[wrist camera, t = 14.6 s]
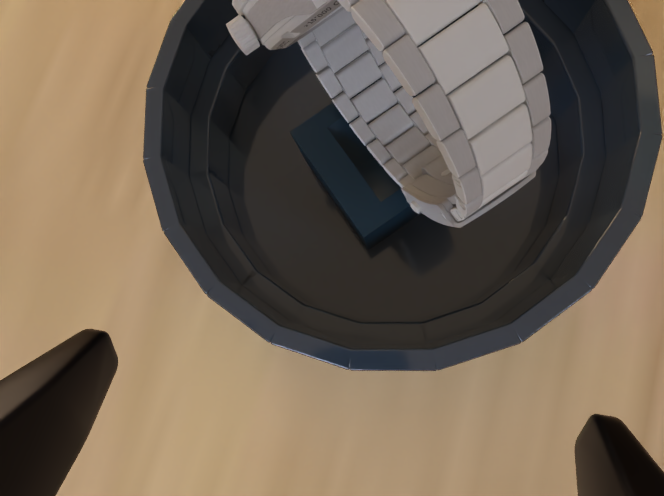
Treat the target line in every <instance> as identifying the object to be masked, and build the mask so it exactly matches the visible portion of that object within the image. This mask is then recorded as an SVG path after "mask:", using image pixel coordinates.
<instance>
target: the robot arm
mask: <svg viewBox="0 0 664 496" xmlns="http://www.w3.org/2000/svg"><path fill="white" fill-rule="evenodd" d="M117 366H118V357H117V354H116V352H115V349H114V346H113V344H112V341H111V338H110V336H109V334H108V333H107V332H105V331H100V330H94V329H85V330H83V331H81V332H79V333H77V334H76V335H74V336H72V337H71V338H69V339H67V340H66V341H64V342H63V343H61V344H59V345H58V346H56V347H54V348H53V349H51V350H49V351H48V352H46V353H45V354H43V355H41V356H40V357H38V358H36V359H35V360H33V361H31V362H30V363H28V364H27V365H25V366H23V367H22V368H20V369H18V370H17V371H15V372H13V373H12V374H10V375H9V376H7V377H5V378H4V379H2V380H0V496H56V494H57V492H58V490H59V488H60V487H61V485H62V483H63V481H64V479H65V478H66V476H67V474H68V472H69V470H70V469H71V467H72V465H73V463H74V462H75V460H76V458H77V456H78V454H79V453H80V451H81V449H82V447H83V445H84V443H85V441H86V439H87V437H88V435H89V433H90V430H91V428H92V426H93V424H94V421H95V419H96V417H97V414H98V412H99V410H100V407H101V405H102V403H103V400H104V398H105V396H106V393H107V391H108V389H109V386H110V384H111V382H112V380H113V377H114V375H115V373H116V370H117ZM575 463H576V476H577V489H578V496H664V472H663V471H662V470H661V468H660V467H659V466H658V465H657V463H656V462H655V461H654V460H653V458H652V457H651V456H650V455H649V454H648V452H647V451H646V450H645V449H644V447H643V446H642V445H641V444H640V442H639V441H638V440H637V439H636V437H635V436H634V435H633V434H632V433H631V431H630V430H629V429H628V428H627V426H626V425H625V424H624V423H623V422H622V421H621V420H620V419H618V418H616V417H612V416H606V415H600V414H594V415H592V416H590V418H589V419H588V421H587V422H586V424H585V426H584V427H583V429H582V431H581V432H580V434H579V436H578V437H577V440H576V443H575Z"/></svg>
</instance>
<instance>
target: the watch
mask: <svg viewBox="0 0 664 496" xmlns="http://www.w3.org/2000/svg"><path fill="white" fill-rule="evenodd" d="M232 5H233V7H234V8H235V10H236V11H237V13H238V14H239V15H238V16H237V17H235V18H234V19H232V20H231V21H230V22H228V23H227V24H226V26H227V28H228V31H229V33H230V34H231V36H232V38H233V40H234V41H235V43H236V44H237V45H238V47H239V48H240V49H241V50H242V52H243V53H244V54H245V55H248V54H250V53H251V52H252V51H254V50H255V49H257V48H258V47H260V44H259V42H258V40H259V41H260V42H261V44H262V45H265V47H266V48H268V49H269V50H276V49H283V48H287V47H289V46H290V45H292V44H294V43H295V42H298V43H299V45H300V47H301V50H302V52H303V53H304V55H305V57H306V59H307V60H308V62H309V64H310V65H311V67H312V68H313V70H314V72H315V73H317V74H316V76H317V78H318V79H319V81H320V82H321V84H322V86H323V87H324V89H325V90H326V92H327V93H328V95H329V96H330V98H334V97H335V96H336V95H338V94H339V93H341V92H342V91H343V92H342V93H341V94H339V95H338V96H336V97H335V98H334V99H332V103H331V104H329V105H328V106H326V107H325V108H323V109H322V110H320V111H319V112H318V113H316V114H315V115H313V116H312V117H310V118H309V119H308V120H306V121H305V122H303V123H302V124H300V125H299V126H298V127H296V128H295V129H293V130H292V131H290V133H291V135H292V137H293V139H294V140H295V142H296V144H297V146H298V148H299V150H300V151H301V153H302V155H303V157H304V159H305V160H306V162H307V163H308V165H309V166H310V168H311V169H312V171H313V172H314V173H315V175H316V176H317V178H318V179H319V181H320V182H321V183H322V185H323V186H324V188H325V189H326V191H327V192H328V193H329V195H330V196H331V198H332V199H333V201H334V202H335V203H336V205H337V206H338V208H339V209H340V211H341V212H342V213H343V215H344V216H345V218H346V219H347V221H348V222H349V223H350V225H351V226H352V228H353V229H354V231H355V232H356V233H357V235H358V236H359V238H360V239H361V241H362V242H363V243H364V245H365V246H366V248H367V249H368V250H369V249H370V248H372V247H373V246H375V245H376V244H378V243H379V242H381V241H382V240H384V239H385V238H386V237H388V236H389V235H391V234H392V233H394V232H395V231H397V230H398V229H399V228H401V227H402V226H404V225H405V224H407V223H408V222H410V221H411V220H413V219H414V218H415V217H417V216H418V215H420V214H421V213H422V214H424V215H425V216H427V217H429V218H430V219H432V220H434V221H436V222H438V223H441V224H443V225H447V226H451V227H457V228H461V227H463V226H464V225H466V224H468V223H469V222H471V221H473V220H474V219H476V218H478V217H479V216H481V215H482V214H484V213H485V212H487V211H488V210H490V209H491V208H493V207H494V206H496V205H497V204H499V203H500V202H502V201H503V200H505V199H506V198H508V197H509V196H510V195H512V194H513V193H515V192H516V191H517V190H519V189H520V188H521V187H523V186H524V185H525V184H527V183H528V182H529V181H530V180H532V179H533V178H534V177H535V176H536V170H537V169H538V168H539V166H540V165H541V164H542V163H543V162H544V160H545V158H546V156H547V154H548V148H549V145H550V139H551V119H550V118H549V117H548V116H550V102H549V95H548V89H547V84H546V80H545V76H544V74H542V73H540V72H541V71H542V70H543V65H542V61H541V57H540V54H539V50H538V47H537V44H536V41H535V38H534V36H533V33H532V30H531V28H530V25H529V24H528V23H527V22H523V23H521V22H522V21H523V20H524V14H523V11H522V9H521V7H520V4H519V2H518V0H232ZM476 5H478V6H477V7H476V8H475V9H473V10H472V11H470V12H469V13H467V14H466V15H465V16H463V17H462V18H460V19H459V20H457V21H456V22H454V23H453V24H452V25H450V26H449V27H447V28H446V29H444V30H443V31H442V32H440V33H439V34H437V35H436V36H434V37H433V38H432V39H430V37H432V36H433V35H435V34H436V33H437V32H439V31H440V30H442V29H443V28H445V27H446V26H447V25H449V24H450V23H452V22H453V21H455V20H456V19H458V18H459V17H460V16H462V15H463V14H465V13H466V12H468V11H469V10H470V9H472V8H473V7H475V6H476ZM241 15H244V16H245V19H244V18H243V17H242V16H241ZM519 23H521V24H519ZM518 24H519V25H518ZM516 25H518V26H517V27H515V26H516ZM513 27H515V28H514V29H512V28H513ZM511 29H512V30H511ZM509 30H511V31H509ZM508 31H509V32H508ZM506 32H508V33H506ZM505 33H506V34H505ZM503 34H505V35H504V36H503ZM367 50H368V51H367ZM366 51H367V52H366ZM364 52H365V53H364ZM363 53H364V54H363ZM361 54H362V55H361ZM360 55H361V56H360ZM359 56H360V57H359ZM502 56H503V57H502ZM357 57H358V58H357ZM500 57H501V58H500ZM356 58H357V59H356ZM499 58H500V59H499ZM354 59H355V60H354ZM497 59H498V60H497ZM353 60H354V61H353ZM496 60H497V61H496ZM351 61H352V62H351ZM494 61H495V62H494ZM350 62H351V63H350ZM384 62H385V63H384ZM493 62H494V63H493ZM382 63H384V64H382ZM347 64H348V65H347ZM381 64H382V65H381ZM490 64H491V65H490ZM346 65H347V66H346ZM379 65H381V66H379ZM489 65H490V66H489ZM344 66H345V67H344ZM378 66H379V67H378ZM487 66H488V67H487ZM343 67H344V68H343ZM486 67H487V68H486ZM341 68H342V69H341ZM484 68H485V69H484ZM340 69H341V70H340ZM483 69H484V70H483ZM481 70H482V71H481ZM319 71H320V72H319ZM337 71H338V72H337ZM480 71H481V72H480ZM336 72H337V73H336ZM479 72H480V73H479ZM334 73H335V74H334ZM477 73H478V74H477ZM476 74H477V75H476ZM474 75H475V76H474ZM473 76H474V77H473ZM471 77H472V78H471ZM470 78H471V79H470ZM468 79H469V80H468ZM467 80H468V81H467ZM466 81H467V82H466Z"/></svg>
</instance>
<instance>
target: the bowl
mask: <svg viewBox="0 0 664 496" xmlns="http://www.w3.org/2000/svg"><path fill="white" fill-rule="evenodd" d="M518 2H519V4H520V7H521V9H522V11H523V14H524V20H523V21H522V22H521V23H523V22H527V23H528V24H529V25H530V28H531V30H532V33H533V36H534V38H535V41H536V44H537V47H538V50H539V54H540V57H541V61H542V65H543V70H542V71H541V72H540V73H542V74H544V76H545V80H546V84H547V89H548V95H549V102H550V116H548V117H549V118H550V119H551V139H550V145H549V148H548V154H547V156H546V158H545V160H544V162H543V163H542V164H541V165H540V166H539V168H538V169H537V170H536V176H535V177H534V178H533V179H532V180H530V181H529V182H528V183H527V184H525V185H524V186H523V187H521V188H520V189H519V190H517V191H516V192H515V193H513V194H512V195H510V196H509V197H508V198H506V199H505V200H503V201H502V202H500V203H499V204H497V205H496V206H494V207H493V208H491V209H490V210H488V211H487V212H485V213H484V214H482V215H481V216H479V217H478V218H476V219H474V220H473V221H471V222H469V223H468V224H466V225H464V226H463V227H461V228H457V227H451V226H447V225H443V224H441V223H438V222H436V221H434V220H432V219H430V218H429V217H427V216H425V215H424V214H422V213H421V214H420V215H418V216H417V217H415V218H414V219H413V220H411V221H410V222H408V223H407V224H405V225H404V226H402V227H401V228H399V229H398V230H397V231H395V232H394V233H392V234H391V235H389V236H388V237H386V238H385V239H384V240H382V241H381V242H379V243H378V244H376V245H375V246H373V247H372V248H370V249H369V250H368V249H367V248H366V246H365V245H364V243H363V242H362V241H361V239H360V238H359V236H358V235H357V233H356V232H355V231H354V229H353V228H352V226H351V225H350V223H349V222H348V221H347V219H346V218H345V216H344V215H343V213H342V212H341V211H340V209H339V208H338V206H337V205H336V203H335V202H334V201H333V199H332V198H331V196H330V195H329V193H328V192H327V191H326V189H325V188H324V186H323V185H322V183H321V182H320V181H319V179H318V178H317V176H316V175H315V173H314V172H313V171H312V169H311V168H310V166H309V165H308V163H307V162H306V160H305V159H304V157H303V155H302V153H301V151H300V150H299V148H298V146H297V144H296V142H295V140H294V139H293V137H292V135H291V133H290V131H292V130H293V129H295V128H296V127H298V126H299V125H300V124H302V123H303V122H305V121H306V120H308V119H309V118H310V117H312V116H313V115H315V114H316V113H318V112H319V111H320V110H322V109H323V108H325V107H326V106H328V105H329V104H331V103H332V99H334V98H335V97H336V96H338V95H339V94H341V93H342V92H343V91H342V92H341V93H339V94H338V95H336V96H335V97H334V98H330V96H329V95H328V93H327V92H326V90H325V89H324V87H323V86H322V84H321V82H320V81H319V79H318V78H317V76H316V74H317V73H315V72H314V70H313V68H312V67H311V65H310V64H309V62H308V60H307V59H306V57H305V55H304V53H303V52H302V50H301V47H300V45H299V43H298V42H295V43H294V44H292V45H290V46H289V47H287V48H283V49H276V50H269V49H268V48H266V47H265V45H262V44H261V42H260V41H259V40H258V42H259V44H260V47H258V48H257V49H255V50H254V51H252V52H251V53H250V54H248V55H245V54H244V53H243V52H242V50H241V49H240V48H239V47H238V45H237V44H236V43H235V41H234V40H233V38H232V36H231V34H230V33H229V31H228V28H227V26H226V24H227V23H228V22H230V21H231V20H232V19H234V18H235V17H237V16H238V15H239V14H238V13H237V11H236V10H235V8H234V7H233V5H232V0H185V1H184V2H183V3H182V5H181V6H180V7H179V9H178V10H177V11H176V13H175V14H174V16H173V17H172V20H171V21H170V23H169V26H168V29H167V31H166V34H165V37H164V40H163V42H162V45H161V48H160V51H159V53H158V56H157V59H156V62H155V64H154V67H153V70H152V73H151V75H150V78H149V81H148V84H147V89H146V108H145V130H144V152H143V159H144V160H143V162H144V166H145V170H146V173H147V177H148V180H149V184H150V188H151V191H152V195H153V198H154V202H155V205H156V209H157V213H158V216H159V220H160V223H161V227H162V230H163V231H164V234H165V235H166V237H167V238H168V240H169V241H170V243H171V244H172V246H173V247H174V249H175V250H176V252H177V253H178V254H179V256H180V257H181V259H182V260H183V262H184V263H185V265H186V266H187V268H188V269H189V271H190V272H191V274H192V275H193V277H194V278H195V280H196V281H197V282H198V284H199V285H200V287H201V288H202V290H203V291H204V293H205V294H207V296H208V297H209V298H210V299H212V300H213V301H214V302H216V303H217V304H218V305H220V306H221V307H222V308H224V309H225V310H226V311H228V312H229V313H230V314H232V315H233V316H234V317H235V318H237V319H238V320H239V321H241V322H242V323H243V324H245V325H246V326H247V327H249V328H250V329H251V330H253V331H254V332H255V333H257V334H258V335H259V336H261V337H262V338H263V339H265V340H266V341H267V342H269V343H270V342H271V344H272V345H275V346H278V347H281V348H284V349H287V350H290V351H293V352H296V353H299V354H302V355H305V356H308V357H311V358H314V359H317V360H320V361H323V362H326V363H329V364H332V365H335V366H338V367H341V368H344V369H347V370H349V369H350V370H351V371H436V370H441V369H444V368H447V367H450V366H453V365H456V364H459V363H463V362H466V361H469V360H472V359H475V358H478V357H481V356H484V355H487V354H490V353H493V352H496V351H499V350H502V349H505V348H508V347H511V346H514V345H518V344H520V343H521V342H524V341H525V340H526V339H528V338H529V337H530V336H532V335H533V334H534V333H536V332H537V331H538V330H540V329H541V328H543V327H544V326H545V325H547V324H548V323H549V322H551V321H552V320H553V319H555V318H556V317H557V316H559V315H560V314H561V313H563V312H564V311H565V310H567V309H568V308H569V307H571V306H572V305H573V304H575V303H576V302H577V301H579V300H580V299H581V298H583V297H584V296H585V295H587V294H588V293H589V292H591V290H592V289H593V288H595V286H596V285H597V283H598V282H599V280H600V279H601V277H602V276H603V274H604V273H605V271H606V270H607V268H608V267H609V265H610V264H611V262H612V261H613V260H614V258H615V257H616V255H617V254H618V252H619V251H620V249H621V248H622V246H623V245H624V243H625V242H626V240H627V239H628V237H629V236H630V234H631V233H632V231H633V230H634V228H635V227H636V225H637V224H638V222H639V221H640V220H641V217H642V215H643V211H644V207H645V203H646V199H647V195H648V192H649V188H650V184H651V180H652V176H653V172H654V168H655V164H656V160H657V156H658V152H659V148H660V144H661V140H662V127H661V117H660V108H659V98H658V89H657V79H656V70H655V60H654V55H652V54H653V51H652V49H651V47H650V45H649V43H648V41H647V39H646V37H645V35H644V33H643V31H642V29H641V27H640V25H639V23H638V21H637V18H636V16H635V14H634V12H633V10H632V8H631V6H630V4H629V2H628V0H518ZM477 6H478V5H476V6H475V7H473V8H472V9H470V10H469V11H468V12H466V13H465V14H463V15H462V16H460V17H459V18H458V19H456V20H455V21H453V22H452V23H450V24H449V25H447V26H446V27H445V28H443V29H442V30H440V31H439V32H437V33H436V34H435V35H433V36H432V37H430V39H432V38H433V37H434V36H436V35H437V34H439V33H440V32H442V31H443V30H444V29H446V28H447V27H449V26H450V25H452V24H453V23H454V22H456V21H457V20H459V19H460V18H462V17H463V16H465V15H466V14H467V13H469V12H470V11H472V10H473V9H475V8H476V7H477ZM241 16H242V17H243V18H244V19H245V16H244V15H241ZM521 23H519V24H521ZM519 24H518V25H519ZM518 25H516V26H515V27H517V26H518ZM515 27H513V28H512V29H514V28H515ZM512 29H511V30H512ZM511 30H509V31H511ZM509 31H508V32H509ZM508 32H506V33H508ZM506 33H505V34H506ZM505 34H503V36H504V35H505ZM367 51H368V50H367ZM367 51H366V52H367ZM364 53H365V52H364ZM364 53H363V54H364ZM361 55H362V54H361ZM361 55H360V56H361ZM360 56H359V57H360ZM502 57H503V56H502ZM357 58H358V57H357ZM357 58H356V59H357ZM500 58H501V57H500ZM500 58H499V59H500ZM354 60H355V59H354ZM354 60H353V61H354ZM497 60H498V59H497ZM497 60H496V61H497ZM351 62H352V61H351ZM351 62H350V63H351ZM494 62H495V61H494ZM494 62H493V63H494ZM384 63H385V62H384ZM384 63H382V64H384ZM382 64H381V65H382ZM347 65H348V64H347ZM347 65H346V66H347ZM381 65H379V66H381ZM490 65H491V64H490ZM490 65H489V66H490ZM379 66H378V67H379ZM344 67H345V66H344ZM344 67H343V68H344ZM487 67H488V66H487ZM487 67H486V68H487ZM341 69H342V68H341ZM341 69H340V70H341ZM484 69H485V68H484ZM484 69H483V70H484ZM481 71H482V70H481ZM481 71H480V72H481ZM319 72H320V71H319ZM337 72H338V71H337ZM337 72H336V73H337ZM480 72H479V73H480ZM334 74H335V73H334ZM477 74H478V73H477ZM477 74H476V75H477ZM474 76H475V75H474ZM474 76H473V77H474ZM471 78H472V77H471ZM471 78H470V79H471ZM468 80H469V79H468ZM468 80H467V81H468ZM467 81H466V82H467Z"/></svg>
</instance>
